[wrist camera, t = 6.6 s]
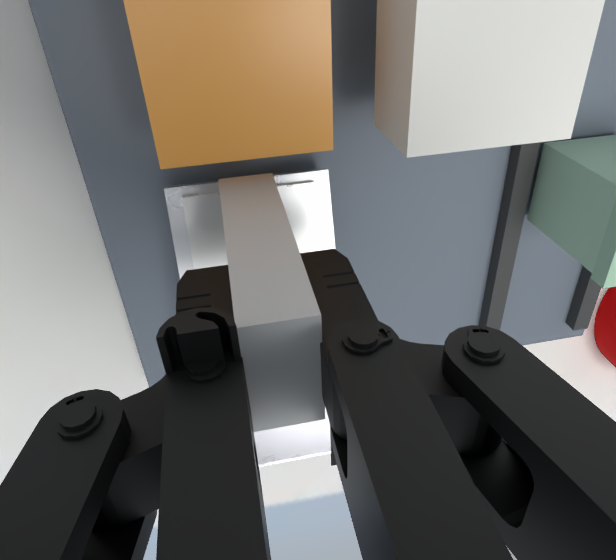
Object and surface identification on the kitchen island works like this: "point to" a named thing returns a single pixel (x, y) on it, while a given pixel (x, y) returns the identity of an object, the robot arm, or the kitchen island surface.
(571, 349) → the kitchen island surface
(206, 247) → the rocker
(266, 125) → the button
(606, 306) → the decorative ornament
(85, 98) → the panel
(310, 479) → the kitchen island surface
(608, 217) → the pale green block
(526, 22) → the button
